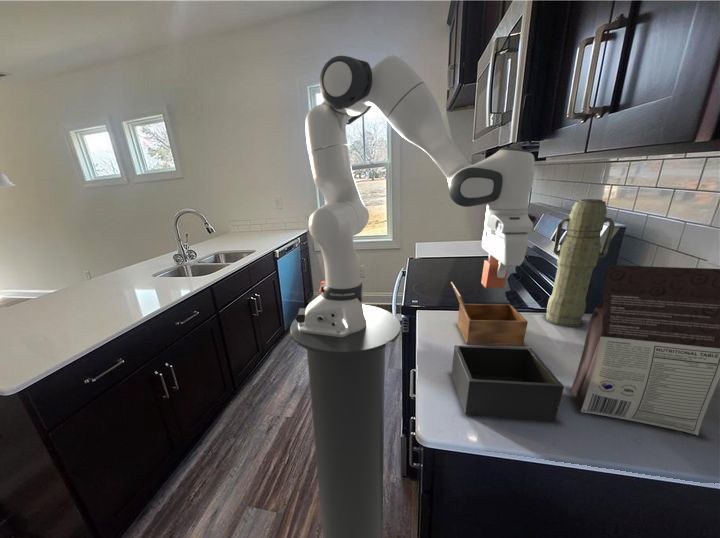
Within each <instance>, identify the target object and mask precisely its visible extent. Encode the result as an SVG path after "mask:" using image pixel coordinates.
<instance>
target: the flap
mask: <svg viewBox="0 0 720 538" xmlns="http://www.w3.org/2000/svg"><path fill="white" fill-rule="evenodd" d="M450 284H451V286H452V289H453V291H454V293H455V296H456V298H457V300H458V303H459V305H460V304H461V306H462V308H463V309H464V311H465V313H466V314H467V316H468V318H470V316H469V313H468V311H467V309H466V306H465V304H466V303H465V302H464V299H463V297H462V295H461V294H460V292H459V290H458V288H456V287H457V286H455V284H454V282H453V281H450Z"/></svg>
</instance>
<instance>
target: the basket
mask: <svg viewBox="0 0 720 538" xmlns="http://www.w3.org/2000/svg"><path fill="white" fill-rule="evenodd" d="M451 365H452V366H451V377H452V380H453V383H454V386H455V389H456V392H457V394H458V399H459V401H460V403H461V407H462V411H463V412H464V415H466V416H477V417H478V416H479V417H491V418H505V419H518V420H531V421H545V422H556V419H557V416H558V415H557V414H558V412H559V408H560V403H561V400H562V396H563V391H564V389H565V386H564V385H563V383H562V382H561V381H560V380H559V379H558V377H556V375H555V374H554V373H553V372H552V371H551V369H550V368H549V367H548V366H547V365H546V364H545V362H544V361H543V360H542V359H541V358H540V356H538V354H537V353H536V352H535V351H534V349H533V348H532V347H517V346H515V347H512V346H489V345H487V346H485V345H483V346H482V345H457V344H456V345H455V344H454V346H453V356H452V364H451Z"/></svg>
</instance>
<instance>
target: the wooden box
mask: <svg viewBox="0 0 720 538" xmlns="http://www.w3.org/2000/svg"><path fill="white" fill-rule="evenodd" d="M464 304H465V306H466V309H467V311H468V313H469V316H470V318H468V316H467V314H466V313H465V311H464V309H463V308H462V306H461V304H460V303H459V305H458V307H459V309H458V317H457V327H458V329H459V330H460V333H461V335H462V337H463V339H464V341H465V343H466V345H488V346H489V345H492V346H519V347H520V346H522V347H524V344H525V338H526V333H527V329H528V328H527V327H528V323H529V321H528V320H527V319H526V318H525V317H523V316H522V314H521V313H520V312H519V311H518V310H517V309H516V308H515V307H514V306H513V305H512V304H507V303H506V304H505V303H503V304H502V303H500V304H499V303H498V304H497V303H464Z"/></svg>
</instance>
